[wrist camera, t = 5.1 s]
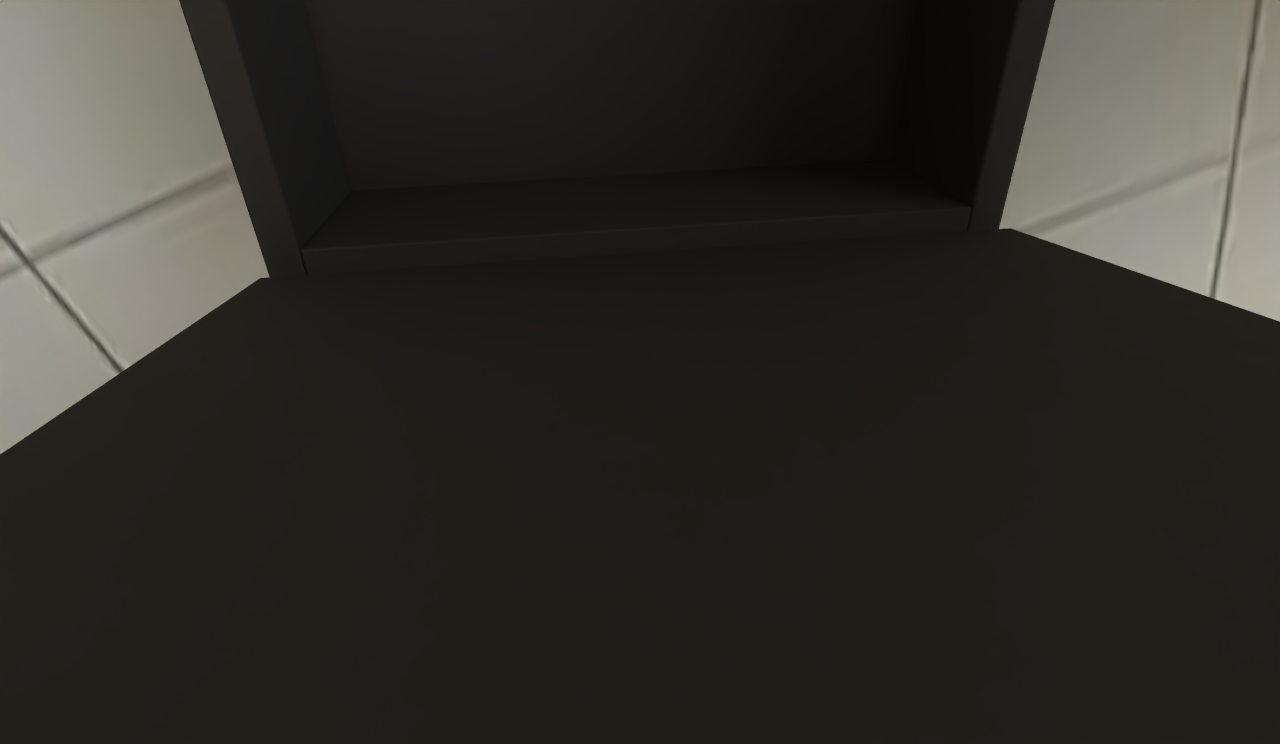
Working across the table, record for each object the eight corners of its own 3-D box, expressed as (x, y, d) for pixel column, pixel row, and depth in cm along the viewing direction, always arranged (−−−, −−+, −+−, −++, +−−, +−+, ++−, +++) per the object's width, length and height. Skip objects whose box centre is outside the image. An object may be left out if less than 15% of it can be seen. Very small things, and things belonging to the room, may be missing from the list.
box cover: (-1357, 1362, 2) (-1102, 1437, 3) (2543, 753, 4) (2395, 851, 4) (258, 277, 15) (268, 313, 15) (1011, 227, 16) (1005, 261, 16)
